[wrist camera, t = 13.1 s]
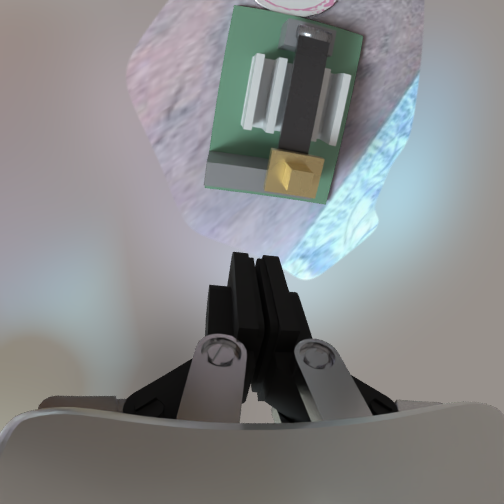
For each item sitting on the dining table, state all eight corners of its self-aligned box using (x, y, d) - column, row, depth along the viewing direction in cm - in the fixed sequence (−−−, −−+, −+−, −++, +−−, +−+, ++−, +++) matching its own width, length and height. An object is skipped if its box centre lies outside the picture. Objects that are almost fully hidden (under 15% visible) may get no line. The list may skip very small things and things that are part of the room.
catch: (270, 147, 28) (276, 155, 25) (321, 156, 29) (332, 165, 26) (263, 187, 30) (267, 199, 27) (312, 195, 31) (321, 207, 28)
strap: (297, 25, 24) (300, 22, 23) (328, 33, 25) (333, 31, 23) (271, 164, 31) (274, 167, 29) (301, 169, 31) (305, 172, 30)
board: (234, 7, 27) (236, -9, 21) (359, 37, 29) (385, 30, 23) (205, 185, 37) (201, 204, 32) (323, 201, 40) (339, 223, 34)
